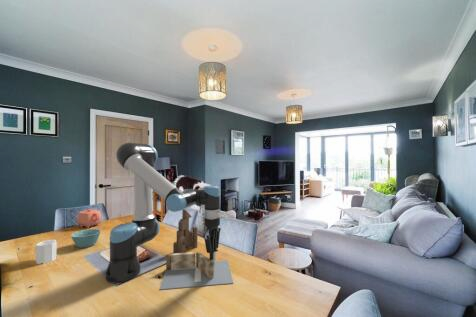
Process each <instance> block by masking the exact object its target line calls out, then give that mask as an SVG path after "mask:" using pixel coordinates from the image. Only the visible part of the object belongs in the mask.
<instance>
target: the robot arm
mask: <svg viewBox="0 0 476 317" xmlns="http://www.w3.org/2000/svg"><path fill="white" fill-rule="evenodd" d="M115 156H116V160H117V162H118V164H119V165H120V166H121V167H123V169H125V170H126V171H128V172H129V171H130V172H131V173H133V177H134V178H133V180H134V181H133V182H134V183H133V184H134V216H133V217H132V218H131V221H130V222H124V223H120V224H118V225H115V226H113V228H112V229H111V230H110V234H109V262H108V264H107V267H106V269H105V270H106V271H105V275H104V278H105V280H106V281H107V282H109V283H122V282H125V281H129V280H132V279H133V278H135V277H137V276H139V274H140V273H141V269H142V268H141V264H140V261H139V258H138V247H140V246H142V245H143V244H146V243H147V242H150V241H152V240H153V239H154V238H156V237H158V234H159V232H160V229H161V226H160V223H159V221H158V220H157V218H156V215H155V214H153V200H152V199H153V197H152V191H154V192H155V193H156V194H158V195H159V197H161V198H162V199H163V200H164V201H165V205H166V207H167V209H168V210H169V211H170V212H174V213H175V212H181V211H182V210H183V209H184V210H186V209H187V208H190V207H192V206H195V205H196V206H197V205H199V206H204V209H203V210H204V211H203V212H204V213H203V214H204V226H205V227H206V231H205V232H206V233H205V234H203V240H204V245H205V250H206V253H207V254H209V259H210V260H212V261H213V262H214V266H215V265H216V261H217V252H218V251H219V250H218V249H219V244H220V235H221V233H220V232H221V230H222V229H221V227H219V226H220V225H221V218H220V216H221V210H220V208H221V207H220V203H221V200H220V198H221V194H220V192H221V191H220V187H219V186H217V185H205V186H204V187H203V188H204V189H196V188H195V189H193V188H187V189H183V191H181V190H180V189H179V188H178V187H177V186H175V184H173V183H172V182H170V181H169V180H168V179H167V178H166V177H164V176H163V174H161V173H160V172H158V171H157V169H155V168H154V167H155V164H156V162H157V161H158V156H159V155H158V151H157V150H156V148H155V147H154V146H153V145H151V144H147V143H138V142H137V143H136V142H126V143H125V142H124V143H122V144H121V145H120V146H119V147H118V148H117V150H116V153H115Z"/></svg>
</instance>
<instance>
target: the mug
mask: <svg viewBox="0 0 476 317" xmlns="http://www.w3.org/2000/svg"><path fill="white" fill-rule="evenodd" d="M57 244H58V243H57V240H56V239H48V240H43V241H40V242H38V243H36V244H35V247H34V252H35V263H36V264H37V265H42V264H41V263H45V264H47V262H48V263H51V262H53V261H55V260H56V259H57ZM50 261H51V262H50Z"/></svg>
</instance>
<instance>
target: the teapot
mask: <svg viewBox="0 0 476 317" xmlns="http://www.w3.org/2000/svg"><path fill="white" fill-rule="evenodd" d="M101 223H102V214H101V211H100V210H97V209H92V208H88V209H87V210H83V211H79V212H78V213H77V218H76V224H77V226H79V227H80V228H84V227H85V228H86V229H89V228H88V227H90V228H91V227H92V226H94V225H97V226H99V224H101ZM83 226H84V227H83Z"/></svg>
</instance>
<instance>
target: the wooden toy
mask: <svg viewBox="0 0 476 317" xmlns="http://www.w3.org/2000/svg"><path fill="white" fill-rule="evenodd" d="M181 211H182V213H181V215H182V218H181V219H179V221H178V225H177V226H178V227H177V229H178V230H176V241H174V242H173V245H172V246H173V247H172V248H173V250H172V251H173V253H186V249H190V248H193V249H194V248H195V249H196V248H198V238H199V237H198V230H199V228H198V226H193V227H192V229H191V230H192V231H190V218H192V215H191V214H190V213H189V211H187V209H183V210H181ZM173 253H172V254H173Z"/></svg>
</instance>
